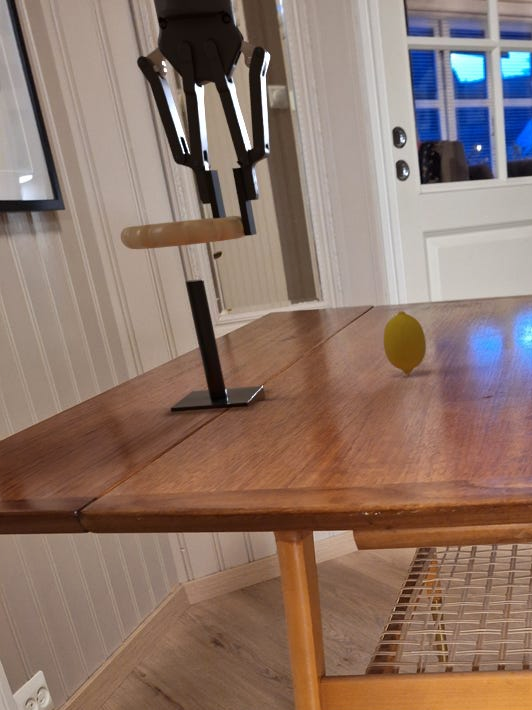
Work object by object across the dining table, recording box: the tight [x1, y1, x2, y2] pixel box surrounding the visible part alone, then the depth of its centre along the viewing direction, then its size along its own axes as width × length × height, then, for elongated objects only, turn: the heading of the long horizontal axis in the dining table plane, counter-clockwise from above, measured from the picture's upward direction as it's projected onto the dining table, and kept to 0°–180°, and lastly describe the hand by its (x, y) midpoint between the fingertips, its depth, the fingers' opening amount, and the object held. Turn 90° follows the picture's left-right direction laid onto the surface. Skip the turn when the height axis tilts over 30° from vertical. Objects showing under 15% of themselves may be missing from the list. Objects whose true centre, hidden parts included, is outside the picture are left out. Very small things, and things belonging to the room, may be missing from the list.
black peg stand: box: [170, 278, 266, 413], centre depth 101 cm, size 9×9×14 cm
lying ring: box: [120, 215, 246, 250], centre depth 95 cm, size 13×13×2 cm
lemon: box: [383, 310, 427, 375], centre depth 114 cm, size 6×6×8 cm
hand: (237, 235), depth 96 cm, fingers closed on lying ring, 2 cm apart
